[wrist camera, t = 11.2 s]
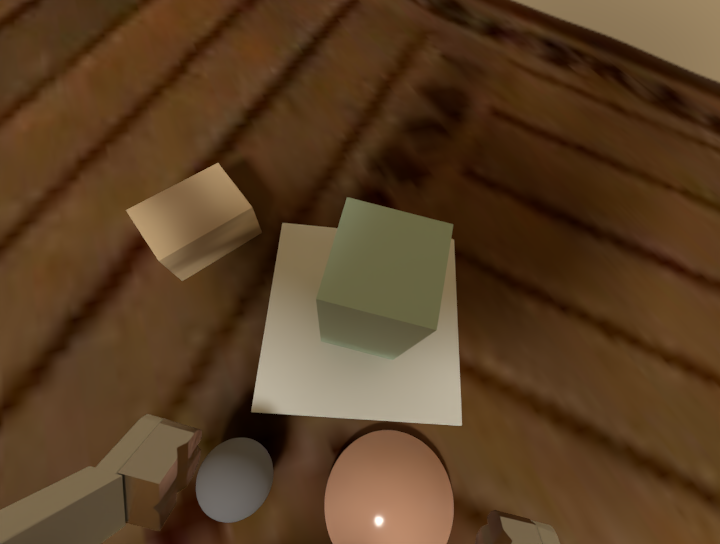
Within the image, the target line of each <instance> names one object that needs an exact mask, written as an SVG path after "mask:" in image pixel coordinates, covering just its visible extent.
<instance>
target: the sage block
mask: <svg viewBox="0 0 720 544" xmlns="http://www.w3.org/2000/svg"><path fill="white" fill-rule="evenodd" d="M452 230H453V224H450V223H446V222H442V221H438V220H434V219H431V218H427V217H423V216H419V215H415V214H411V213H407V212H403V211H399V210H395V209H392V208H388V207H384V206H380V205H376V204H372V203H368V202H364V201H360V200H356V199H353V198H349V197H347V199H346V202H345V205H344V209H343V212H342V215H341V218H340V222H339V225H338V228H337V232H336V235H335V238H334V241H333V245H332V248H331V251H330V255H329V258H328V261H327V264H326V268H325V271H324V274H323V278H322V281H321V284H320V288H319V291H318V294H317V297H316V303H317V312H318V320H319V329H320V337H321V341H322V342H325V343H329V344H333V345H337V346H341V347H345V348H349V349H352V350H356V351H360V352H364V353H368V354H372V355H375V356H379V357H383V358H387V359H391V360H394V359H395V358H397V357H398V356H400V355H401V354H403V353H404V352H405V351H407V350H408V349H410V348H411V347H413V346H414V345H416V344H417V343H419V342H420V341H422V340H423V339H425V338H426V337H427V336H429V335H430V334H432V333H433V332H435V331H436V330H437V325H438V319H439V313H440V306H441V300H442V294H443V287H444V281H445V275H446V268H447V262H448V256H449V249H450V243H451V237H452Z"/></svg>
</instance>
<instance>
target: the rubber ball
mask: <svg viewBox="0 0 720 544" xmlns="http://www.w3.org/2000/svg"><path fill="white" fill-rule="evenodd" d="M272 481H273V464H272V460H271V457H270V455H269V453H268V452H267V450H266V449H265V448H264V447H263V446H262V445H261V444H260V443H259V442H257V441H255V440H253V439H250V438H233V439H230V440H227V441H225V442H223V443H221V444H219V445H218V446H217V447H215V448H214V449H213V450H212V451H211V452H210V453H209V454H208V455H207V457H206V458H205V460H204V461H203V463H202V465H201V467H200V469H199V472H198V475H197V480H196V495H197V499H198V502H199V505H200V506H201V508H202V510H203V511H204V512H205V513H206V514H207V515H208V516H209V517H211V518H212V519H214V520H217V521H220V522H226V523H228V522H236V521H239V520H242V519H244V518H246V517H248V516H250V515H251V514H253V513H254V512H255V511H256V510H257V509H258V508H259V507H260V506H261V505H262V504H263V502H264V501H265V499H266V497H267V496H268V493H269V491H270V489H271V485H272Z"/></svg>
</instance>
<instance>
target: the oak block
mask: <svg viewBox="0 0 720 544" xmlns="http://www.w3.org/2000/svg"><path fill="white" fill-rule="evenodd" d="M126 211H127V213H128V214H129V216H130V217H131V219H132V220H133V222H134V224H135V225H136V227H137V228H138V230H139V231H140V233H141V234H142V236H143V237H144V239H145V241H146V242H147V244H148V245H149V247H150V248H151V250H152V251H153V253H154V254H155V256H156V258H157V259H158V261H159V262H161V263H162V264H163V265H164V266H165V267H166V268H168V269H169V270H170V271H171V272H172V273H174V274H175V275H176V276H177V277H178V278H179V279H181V280H182V281H183V280H185V279H187V278H188V277H190V276H192V275H193V274H195V273H196V272H198V271H200V270H201V269H203V268H205V267H206V266H208V265H210V264H211V263H213V262H215V261H216V260H218V259H220V258H221V257H223V256H225V255H226V254H228V253H230V252H231V251H233V250H234V249H236V248H238V247H239V246H241V245H243V244H244V243H246V242H248V241H249V240H251V239H253V238H254V237H256V236H258V235H259V234H261V233H262V231H261V228H260V226H259V223H258V221H257V218H256V215H255V213H254V210H253V208H252V206H251V205H250V203H249V202H248V201H247V200H246V198H245V197H244V196H243V194H242V193H241V192H240V191H239V189H238V188H237V187H236V185H235V184H234V183H233V181H232V180H231V179H230V178H229V176H228V175H227V174H226V172H225V171H224V170H223V169H222V167H221V166H220V165H219V163H217V164H215V165H213V166H211V167H209V168H207V169H205V170H203V171H201V172H199V173H197V174H195V175H193V176H192V177H190V178H188V179H186V180H184V181H182V182H180V183H178V184H176V185H174V186H172V187H170V188H168V189H166V190H164V191H162V192H160V193H158V194H157V195H155V196H153V197H151V198H149V199H147V200H145V201H143V202H141V203H139V204H137V205H135V206H133V207H131V208H129V209H127V210H126Z"/></svg>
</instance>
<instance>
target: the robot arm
mask: <svg viewBox="0 0 720 544" xmlns="http://www.w3.org/2000/svg"><path fill="white" fill-rule="evenodd" d="M201 438H202V430H200V429H197V428H194V427H190V426H187V425H184V424H180V423H177V422H174V421H170V420H167V419H164V418H160V417H157V416H153V415H150V414H146V415H145V416H143V417H142V418H140V419H139V420H138V421H137V422H136V424H135V425H134V426H133V427H132V428H131V429H130V430H129V431H128V432H127V433H126V434H125V436H124V437H123V438H122V439H121V440H120V441H119V442H118V443H117V444H116V445H115V446H114V447H113V449H112V450H111V451H110V452H109V453H108V454H107V455H106V456H105V457H104V458H103V459H102V461H101V462H100V463H99V464H98V465H97V466H96V467H91V466H89V467H87V468H85V469H83V470H81V471H79V472H76V473H74V474H72V475H70V476H68V477H66V478H64V479H62V480H60V481H58V482H56V483H54V484H52V485H50V486H48V487H46V488H44V489H42V490H40V491H38V492H36V493H34V494H32V495H30V496H28V497H26V498H24V499H22V500H20V501H18V502H16V503H13V504H11V505H9V506H7V507H5V508H3V509H1V510H0V544H101V543H102V542H104V541H105V540H106V539H108V538H109V537H111V536H112V535H113V534H115V533H116V532H117V531H119V530H120V529H121V528H123V527H124V526H125V525H126V523H129V524H133V525H137V526H141V527H145V528H149V529H153V530H157V531H160V530H161V528H162V526H163V525H164V523H165V521H166V520H167V518H168V517H169V515H170V513H171V512H172V510H173V508H174V507H175V505H176V497H177V493H178V492H179V491H181V490H182V489H184V488H186V487H187V485H188V484H189V482H190V480H191V479H192V477H193V475H194V473H195V470H196V468H197V466H198V463H199V459H200V454H201V449H200V448H199V446H198V443H199V442H200V440H201ZM487 519H488V525H485V526H483V527H481V528H480V530H479V532H478V533H477V536H476V542H475V544H560V542H559V539H558V537H557V534H556V532H555V530H554V529H553V527H552V526H550V525H548V524H544V523H540V522H536V521H532V520H530V519H528V518H524V517H520V516H516V515H512V514H508V513H504V512H500V511H497V510H494V511H491V512H490V514H489V515H488V517H487Z"/></svg>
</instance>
